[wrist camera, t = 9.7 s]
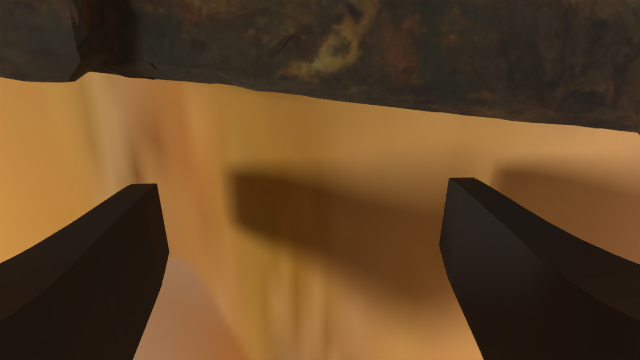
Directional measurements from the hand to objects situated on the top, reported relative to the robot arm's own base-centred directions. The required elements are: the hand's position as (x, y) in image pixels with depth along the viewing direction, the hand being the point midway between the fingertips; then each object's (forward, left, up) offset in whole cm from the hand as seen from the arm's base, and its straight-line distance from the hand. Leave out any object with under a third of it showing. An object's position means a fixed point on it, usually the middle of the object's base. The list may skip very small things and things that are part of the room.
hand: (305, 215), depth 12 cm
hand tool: (+4, 0, -2) cm, 5 cm away
